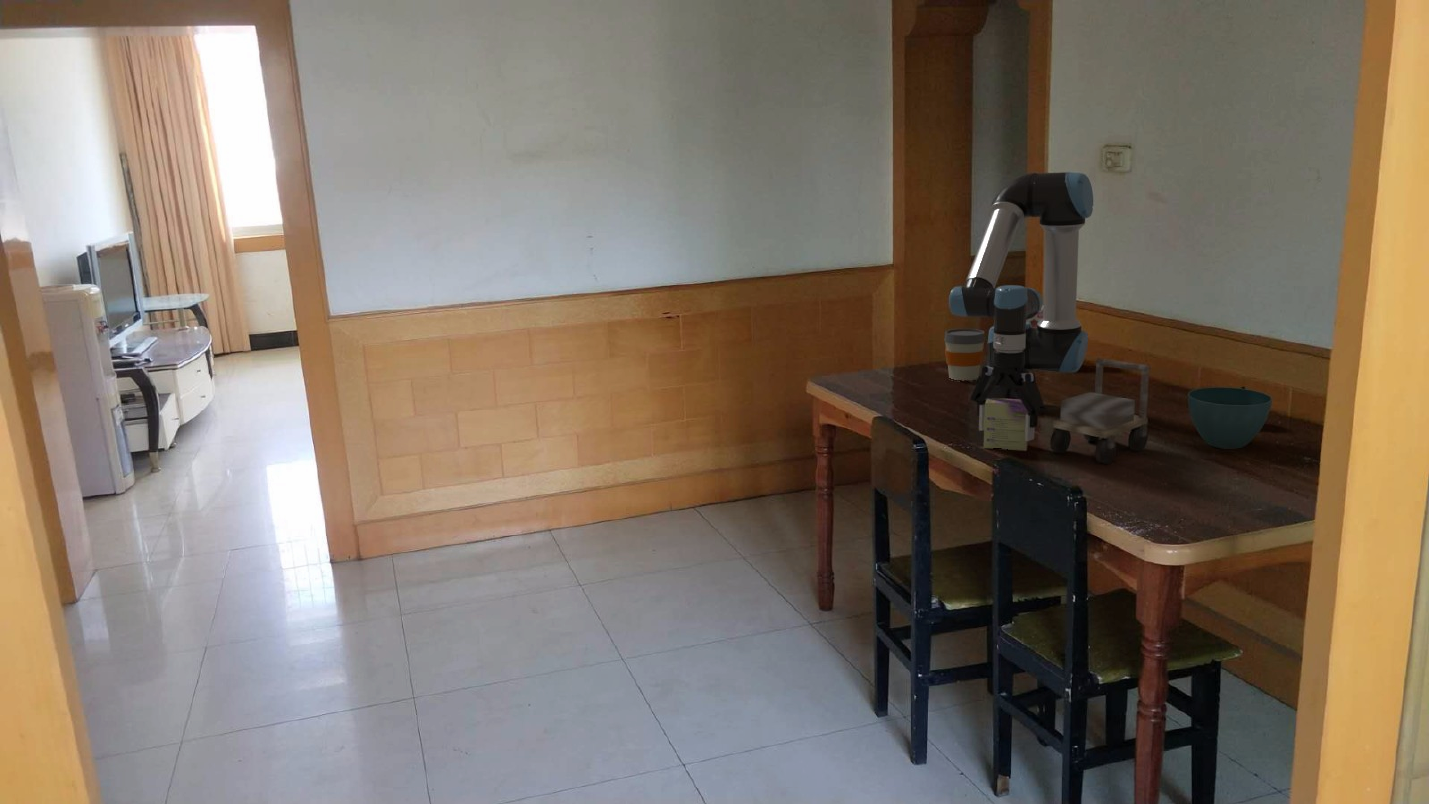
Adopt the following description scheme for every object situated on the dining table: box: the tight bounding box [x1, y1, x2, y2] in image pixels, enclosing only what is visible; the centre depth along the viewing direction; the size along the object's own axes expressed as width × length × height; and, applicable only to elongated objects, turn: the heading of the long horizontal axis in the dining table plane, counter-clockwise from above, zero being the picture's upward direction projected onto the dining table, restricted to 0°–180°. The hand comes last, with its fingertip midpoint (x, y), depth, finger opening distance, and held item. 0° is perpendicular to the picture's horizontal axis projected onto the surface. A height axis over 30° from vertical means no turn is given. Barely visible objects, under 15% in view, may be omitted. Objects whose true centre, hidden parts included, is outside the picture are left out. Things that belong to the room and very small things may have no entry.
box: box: [983, 398, 1029, 452], centre depth 260 cm, size 10×6×12 cm, turn 71°
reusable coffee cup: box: [943, 328, 986, 381], centre depth 333 cm, size 13×12×15 cm
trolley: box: [1049, 357, 1151, 465], centre depth 252 cm, size 15×20×21 cm
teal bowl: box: [1187, 386, 1273, 450], centre depth 255 cm, size 18×18×12 cm
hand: (1006, 434), depth 260 cm, fingers open, 13 cm apart
